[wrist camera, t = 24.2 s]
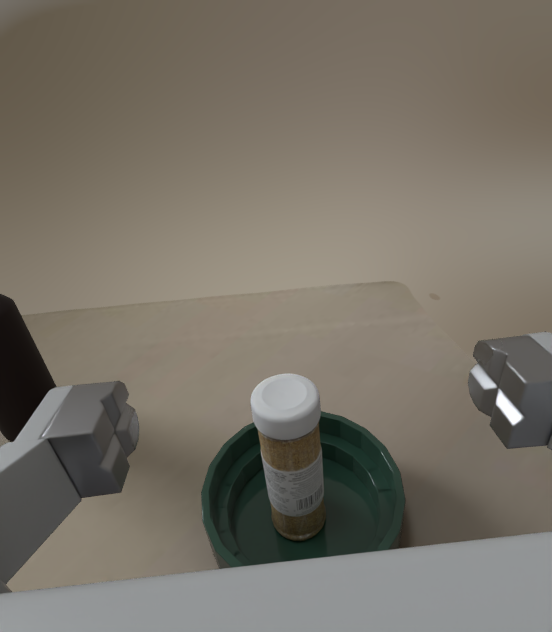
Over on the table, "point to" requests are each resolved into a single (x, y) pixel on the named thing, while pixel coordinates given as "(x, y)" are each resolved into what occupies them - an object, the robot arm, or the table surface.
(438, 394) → the table surface
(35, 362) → the vinegar
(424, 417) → the table surface
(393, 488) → the green faceted bowl
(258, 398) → the sprinkles bottle
